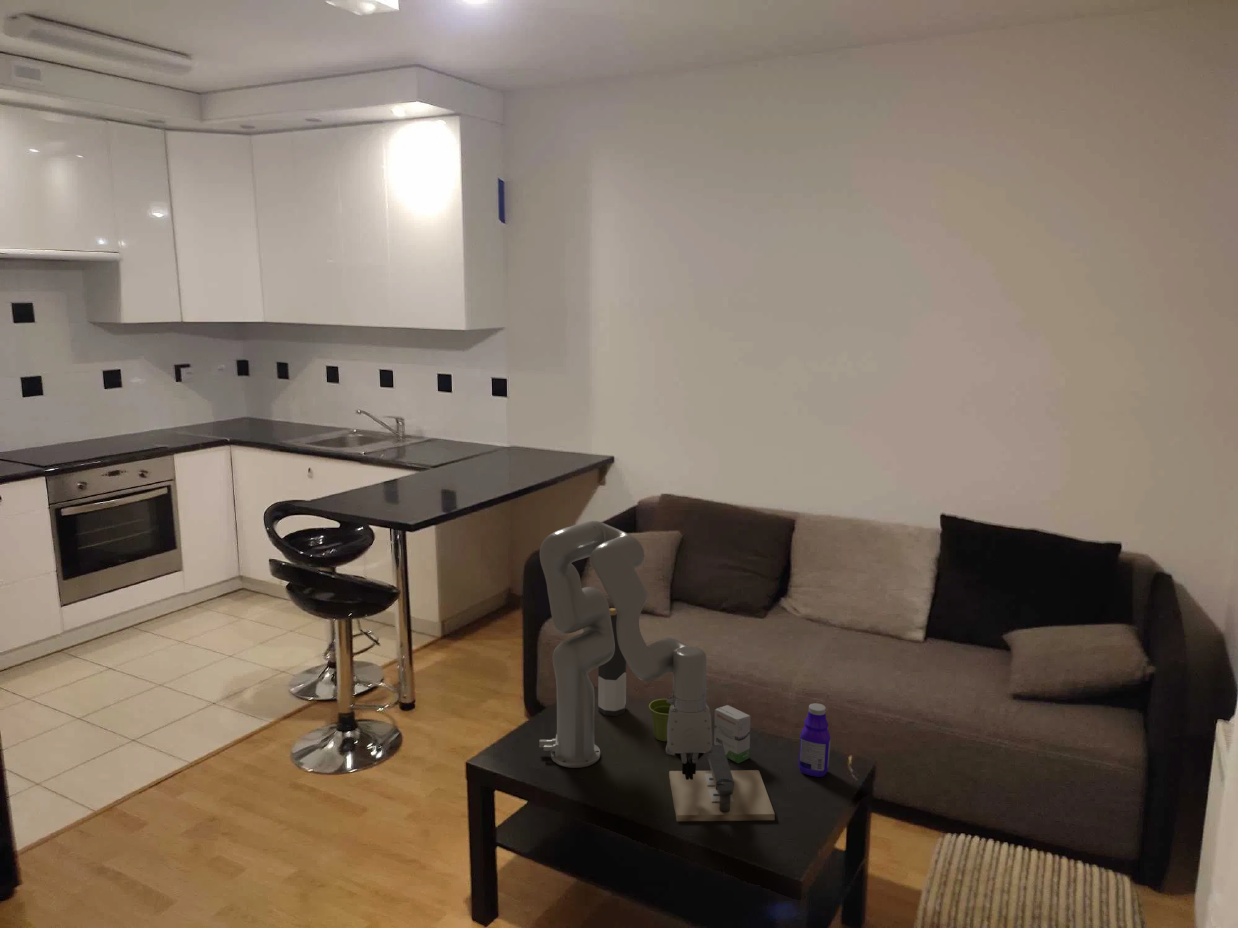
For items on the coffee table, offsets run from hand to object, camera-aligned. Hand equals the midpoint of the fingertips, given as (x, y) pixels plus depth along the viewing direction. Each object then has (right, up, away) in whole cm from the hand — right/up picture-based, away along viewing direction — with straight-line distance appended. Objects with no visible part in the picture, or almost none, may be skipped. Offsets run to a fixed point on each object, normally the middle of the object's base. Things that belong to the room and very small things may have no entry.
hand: (688, 776), depth 205 cm
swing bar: (+8, 0, +3) cm, 8 cm away
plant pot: (-4, -1, +33) cm, 33 cm away
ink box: (+13, -3, +24) cm, 27 cm away
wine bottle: (-18, +2, +48) cm, 51 cm away
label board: (+7, -6, +4) cm, 10 cm away
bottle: (+32, -5, +16) cm, 36 cm away
